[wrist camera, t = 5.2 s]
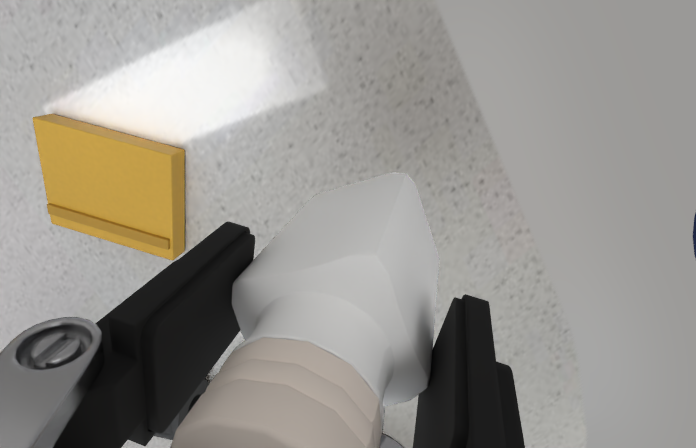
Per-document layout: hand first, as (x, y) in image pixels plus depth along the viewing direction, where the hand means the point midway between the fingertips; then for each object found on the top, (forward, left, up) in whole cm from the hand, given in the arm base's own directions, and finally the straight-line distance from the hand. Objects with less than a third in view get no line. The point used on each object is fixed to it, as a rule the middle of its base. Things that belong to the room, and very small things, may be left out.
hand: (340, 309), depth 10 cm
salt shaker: (0, 0, -5) cm, 5 cm away
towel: (+19, +7, -15) cm, 25 cm away
